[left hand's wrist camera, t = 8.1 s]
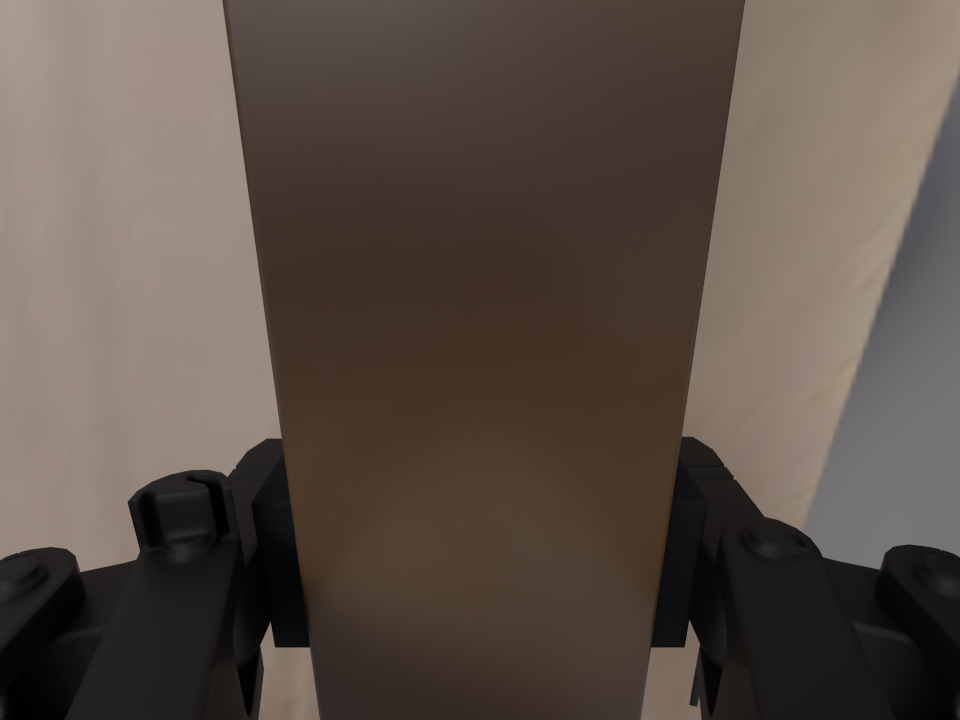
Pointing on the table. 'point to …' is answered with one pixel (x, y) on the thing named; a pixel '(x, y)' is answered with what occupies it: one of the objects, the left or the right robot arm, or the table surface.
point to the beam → (482, 331)
